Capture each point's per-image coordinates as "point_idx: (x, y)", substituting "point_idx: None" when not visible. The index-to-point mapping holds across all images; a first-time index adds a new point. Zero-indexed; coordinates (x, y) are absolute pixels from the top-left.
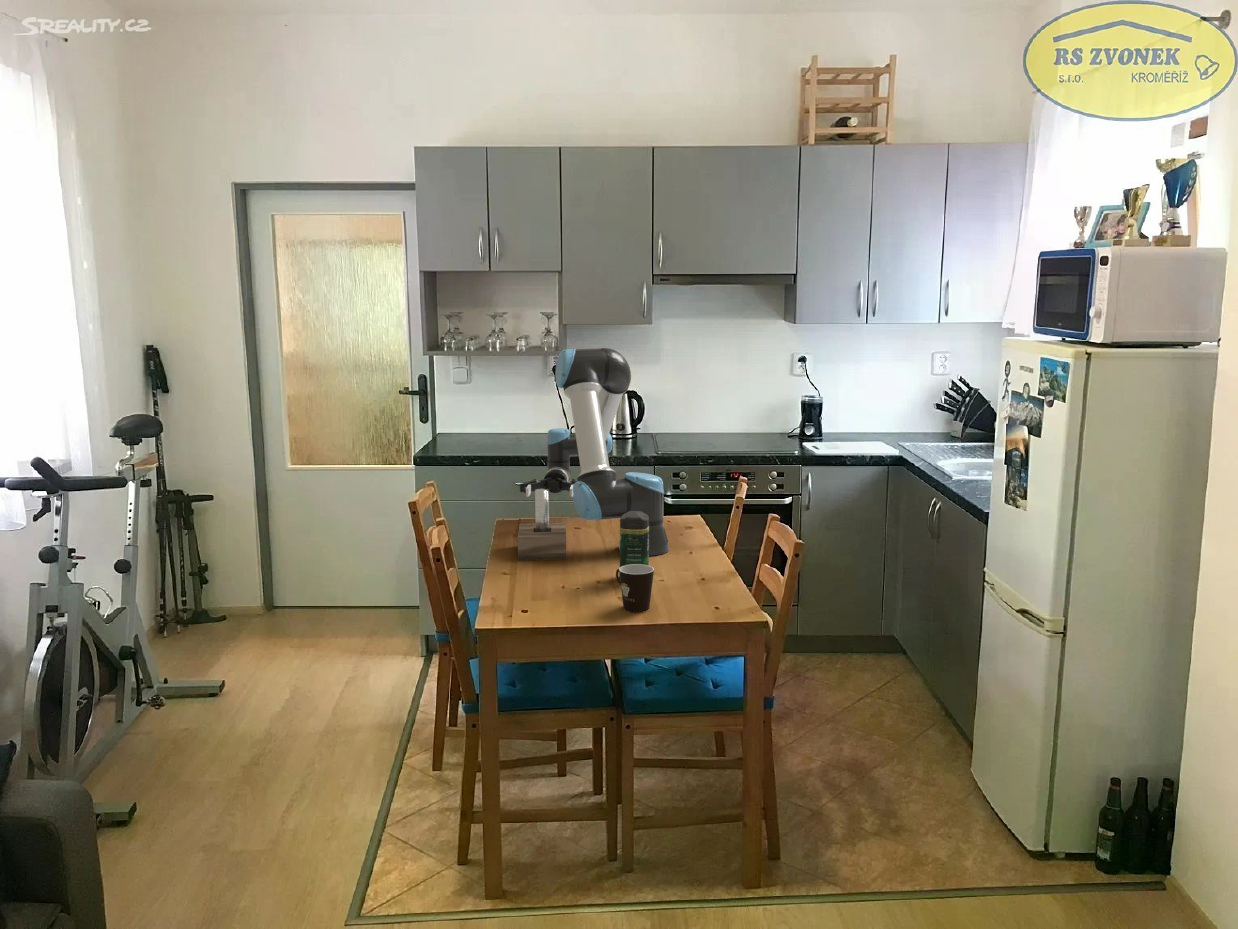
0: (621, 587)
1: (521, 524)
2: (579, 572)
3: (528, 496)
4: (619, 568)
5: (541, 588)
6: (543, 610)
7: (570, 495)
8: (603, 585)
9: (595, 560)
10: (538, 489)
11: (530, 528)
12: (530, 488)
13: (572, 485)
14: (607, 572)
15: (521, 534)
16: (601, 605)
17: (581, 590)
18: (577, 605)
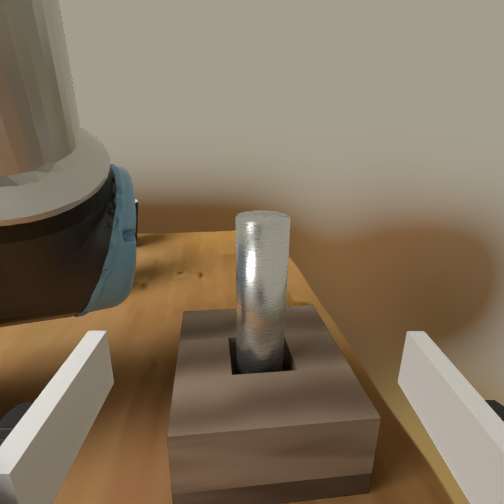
0: (137, 220)
1: (367, 408)
2: (167, 311)
3: (401, 384)
4: (136, 202)
5: (231, 272)
6: (223, 243)
7: (107, 372)
8: (139, 278)
9: (111, 364)
10: (279, 219)
11: (306, 364)
12: (479, 460)
13: (22, 432)
14: (112, 312)
15: (311, 319)
16: (159, 248)
17: (175, 269)
18: (186, 248)
